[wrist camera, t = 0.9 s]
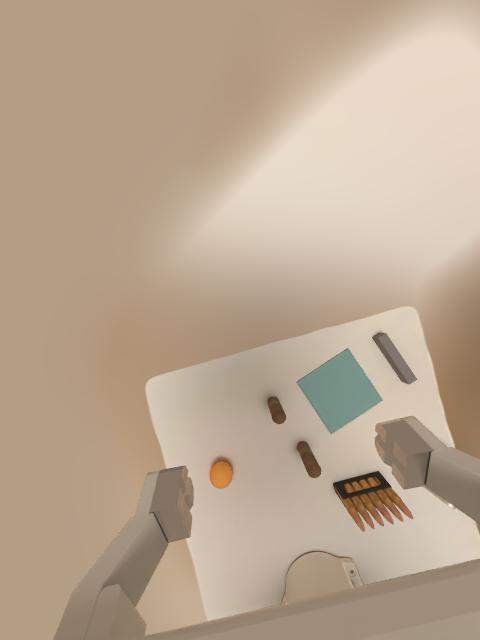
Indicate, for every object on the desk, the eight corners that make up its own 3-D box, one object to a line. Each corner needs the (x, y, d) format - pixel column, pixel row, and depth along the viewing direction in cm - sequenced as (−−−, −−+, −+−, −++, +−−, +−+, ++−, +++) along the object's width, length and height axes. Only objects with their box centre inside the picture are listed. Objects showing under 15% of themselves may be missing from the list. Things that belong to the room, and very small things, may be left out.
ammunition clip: (335, 490, 55) (360, 537, 43) (332, 482, 55) (357, 527, 43) (380, 479, 55) (419, 522, 43) (378, 471, 55) (416, 512, 43)
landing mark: (382, 399, 55) (382, 400, 55) (330, 433, 55) (331, 434, 55) (347, 348, 55) (348, 348, 55) (296, 381, 55) (296, 382, 55)
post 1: (281, 403, 55) (288, 419, 46) (271, 410, 55) (277, 426, 46) (275, 394, 55) (281, 407, 46) (265, 400, 55) (269, 415, 46)
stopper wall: (409, 376, 55) (417, 379, 52) (401, 381, 55) (409, 384, 52) (379, 332, 55) (385, 333, 53) (372, 337, 55) (378, 338, 53)
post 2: (310, 448, 55) (323, 473, 46) (301, 455, 55) (312, 480, 46) (304, 439, 55) (316, 461, 46) (294, 445, 55) (304, 468, 46)
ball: (237, 471, 55) (236, 485, 50) (219, 483, 55) (216, 498, 50) (225, 452, 55) (223, 465, 50) (207, 464, 55) (203, 478, 50)
